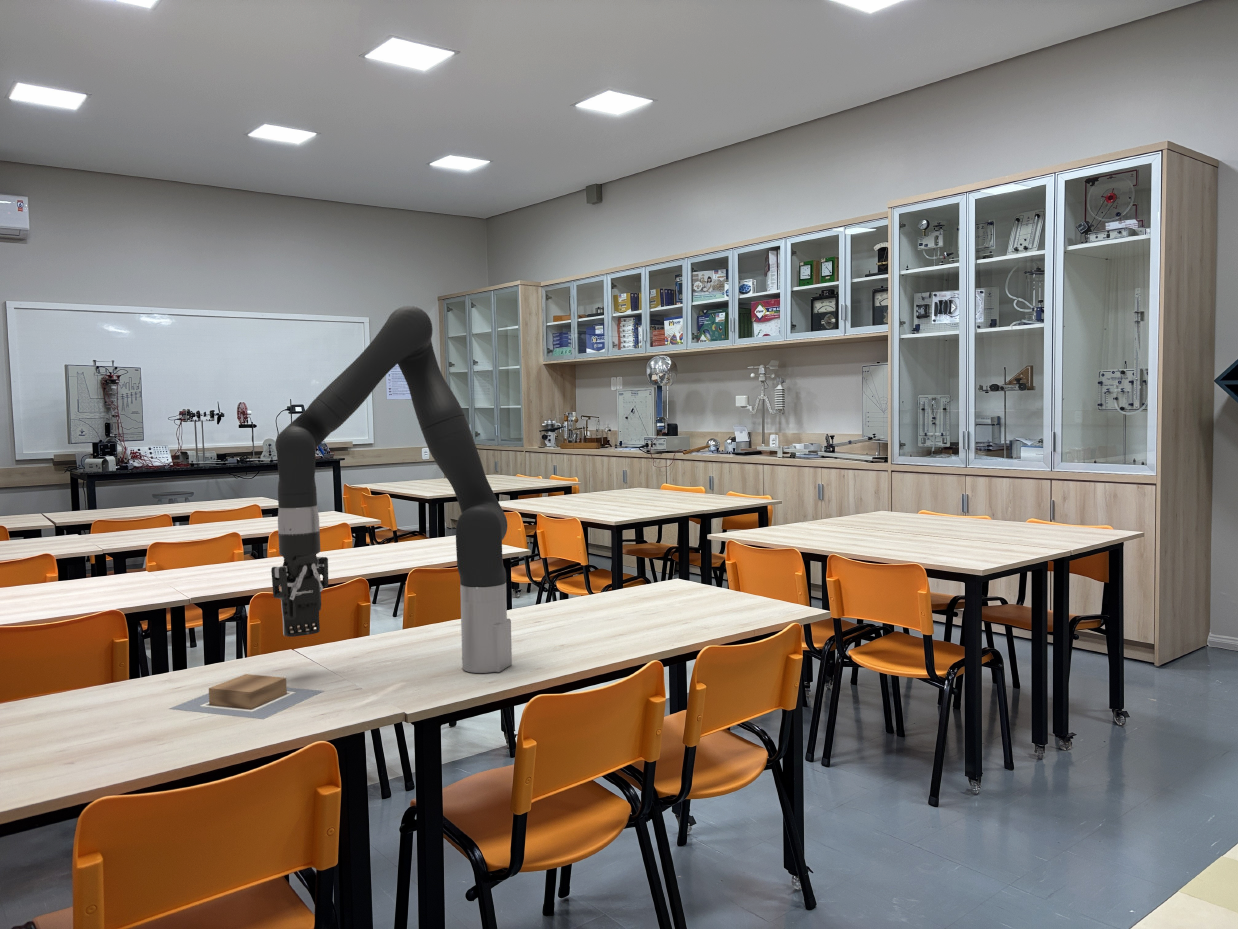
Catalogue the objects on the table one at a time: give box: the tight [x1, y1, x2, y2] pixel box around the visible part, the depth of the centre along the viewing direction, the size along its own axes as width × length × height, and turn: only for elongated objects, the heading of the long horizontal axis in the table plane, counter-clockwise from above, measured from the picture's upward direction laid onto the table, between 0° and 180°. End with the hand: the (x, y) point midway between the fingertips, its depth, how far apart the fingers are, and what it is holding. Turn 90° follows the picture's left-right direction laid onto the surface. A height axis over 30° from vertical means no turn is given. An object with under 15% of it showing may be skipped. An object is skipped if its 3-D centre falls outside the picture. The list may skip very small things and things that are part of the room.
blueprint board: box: [168, 686, 325, 720], centre depth 155 cm, size 20×16×1 cm
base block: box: [208, 673, 288, 709], centre depth 155 cm, size 9×9×3 cm
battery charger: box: [280, 576, 321, 638], centre depth 168 cm, size 7×4×11 cm, turn 123°
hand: (302, 614), depth 168 cm, fingers closed on battery charger, 7 cm apart
